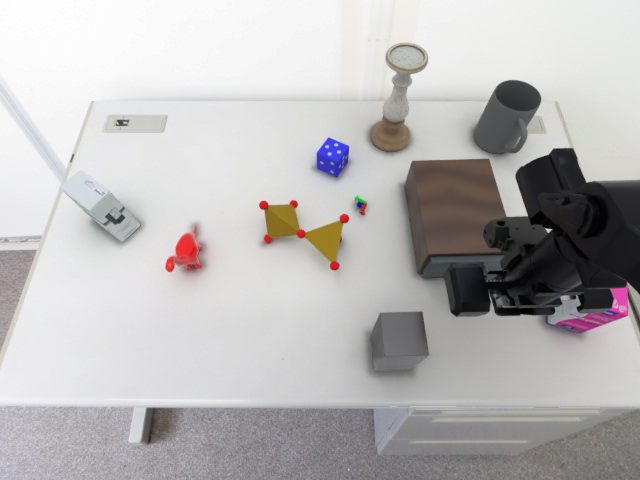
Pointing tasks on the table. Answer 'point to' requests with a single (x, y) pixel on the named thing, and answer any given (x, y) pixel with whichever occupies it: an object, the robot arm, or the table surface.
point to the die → (332, 157)
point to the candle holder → (398, 96)
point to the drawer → (441, 263)
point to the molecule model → (286, 224)
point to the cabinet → (451, 207)
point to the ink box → (100, 205)
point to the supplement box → (581, 323)
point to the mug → (507, 117)
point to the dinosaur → (185, 253)
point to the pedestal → (398, 341)
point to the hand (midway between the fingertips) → (497, 309)
